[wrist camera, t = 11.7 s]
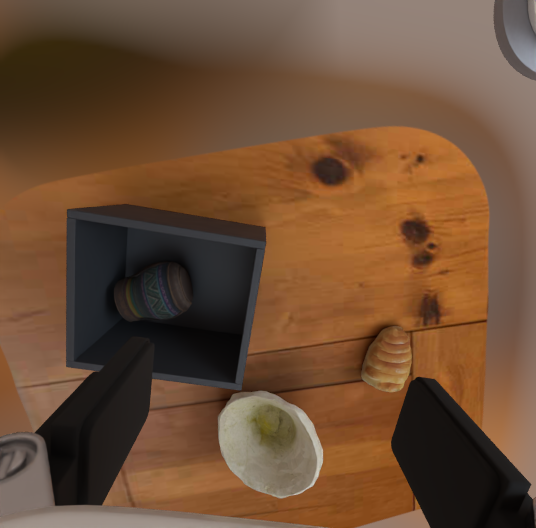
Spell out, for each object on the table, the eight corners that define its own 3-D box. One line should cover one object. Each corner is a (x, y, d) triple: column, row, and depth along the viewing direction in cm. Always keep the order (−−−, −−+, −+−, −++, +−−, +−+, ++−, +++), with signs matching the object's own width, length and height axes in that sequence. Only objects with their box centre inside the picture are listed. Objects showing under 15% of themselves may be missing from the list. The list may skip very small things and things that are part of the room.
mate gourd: (185, 314, 33) (99, 338, 32) (202, 310, 40) (131, 330, 40) (171, 252, 33) (86, 275, 33) (189, 260, 41) (120, 279, 41)
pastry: (370, 320, 43) (380, 333, 39) (414, 325, 43) (429, 338, 39) (357, 376, 45) (365, 393, 41) (399, 381, 45) (411, 398, 42)
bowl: (241, 354, 44) (234, 401, 34) (325, 384, 45) (342, 437, 35) (207, 432, 47) (193, 494, 37) (287, 457, 48) (294, 524, 39)
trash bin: (125, 204, 38) (66, 208, 27) (265, 227, 39) (266, 241, 28) (119, 319, 42) (66, 367, 31) (247, 338, 43) (241, 390, 32)
